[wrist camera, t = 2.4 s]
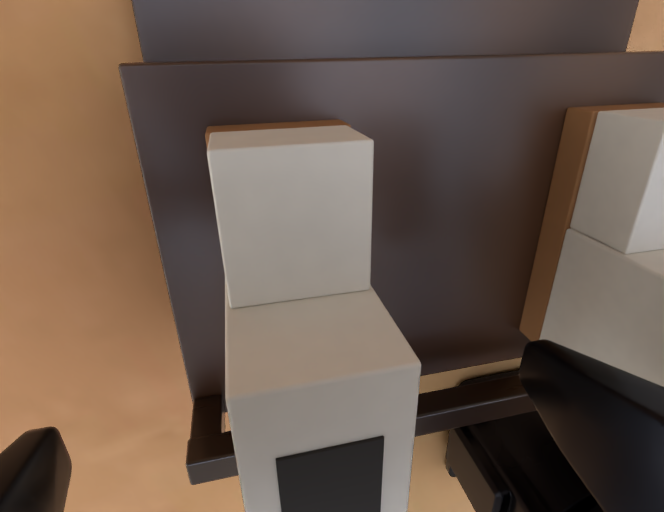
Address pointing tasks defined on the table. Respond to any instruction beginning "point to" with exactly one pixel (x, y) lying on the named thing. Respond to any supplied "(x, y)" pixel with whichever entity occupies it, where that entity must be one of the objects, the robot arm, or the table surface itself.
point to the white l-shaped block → (604, 241)
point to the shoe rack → (380, 161)
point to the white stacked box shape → (309, 323)
